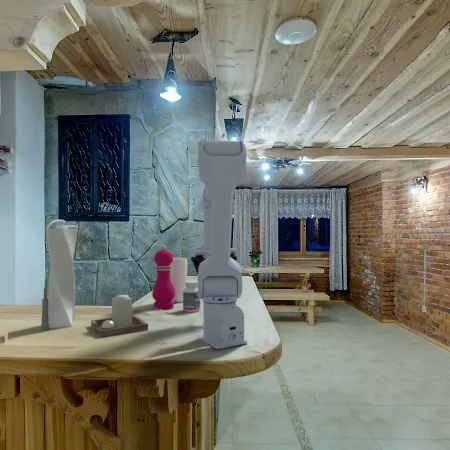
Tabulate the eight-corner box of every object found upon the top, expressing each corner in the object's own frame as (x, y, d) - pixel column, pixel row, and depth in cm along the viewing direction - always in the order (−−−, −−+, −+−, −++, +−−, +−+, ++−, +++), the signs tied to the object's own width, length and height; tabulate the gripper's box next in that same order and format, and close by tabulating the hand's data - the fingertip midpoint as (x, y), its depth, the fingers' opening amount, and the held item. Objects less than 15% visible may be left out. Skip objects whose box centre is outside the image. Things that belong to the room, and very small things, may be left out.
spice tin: (132, 327, 87) (132, 296, 87) (116, 329, 84) (116, 298, 85) (127, 323, 90) (127, 294, 90) (111, 325, 88) (111, 295, 88)
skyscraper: (43, 326, 91) (44, 219, 92) (77, 322, 94) (77, 219, 95) (40, 334, 83) (41, 218, 84) (77, 330, 87) (77, 218, 87)
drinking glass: (191, 300, 122) (191, 258, 123) (178, 304, 117) (178, 259, 117) (176, 298, 126) (176, 257, 126) (163, 301, 120) (163, 258, 121)
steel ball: (116, 333, 81) (116, 320, 81) (103, 335, 79) (103, 322, 80) (113, 330, 84) (113, 318, 84) (100, 332, 82) (100, 319, 82)
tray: (148, 332, 84) (148, 324, 84) (100, 339, 78) (101, 331, 78) (134, 322, 93) (134, 314, 93) (91, 328, 88) (91, 320, 88)
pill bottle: (197, 312, 104) (197, 283, 105) (180, 311, 105) (180, 282, 106) (202, 308, 110) (202, 280, 110) (186, 308, 111) (186, 280, 111)
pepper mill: (164, 311, 106) (164, 245, 107) (147, 308, 110) (147, 245, 110) (179, 306, 112) (179, 245, 113) (162, 304, 116) (162, 244, 116)
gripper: (228, 232, 103) (228, 278, 103) (184, 233, 96) (184, 282, 95) (242, 232, 97) (242, 281, 97) (196, 233, 90) (196, 285, 89)
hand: (214, 282), depth 96 cm, fingers open, 7 cm apart
